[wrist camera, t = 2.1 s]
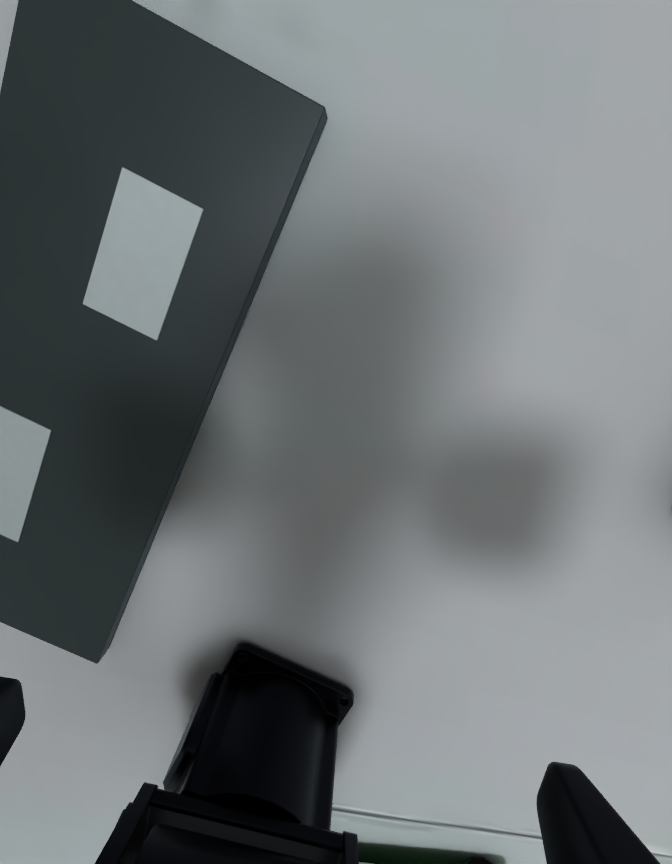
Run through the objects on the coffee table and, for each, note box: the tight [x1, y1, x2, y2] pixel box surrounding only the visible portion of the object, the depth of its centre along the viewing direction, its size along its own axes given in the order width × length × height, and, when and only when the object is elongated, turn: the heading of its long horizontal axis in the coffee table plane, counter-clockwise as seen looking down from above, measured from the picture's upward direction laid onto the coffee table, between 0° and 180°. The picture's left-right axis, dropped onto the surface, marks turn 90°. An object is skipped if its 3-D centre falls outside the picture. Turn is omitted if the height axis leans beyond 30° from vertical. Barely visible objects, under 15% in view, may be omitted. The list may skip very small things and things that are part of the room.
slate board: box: [0, 0, 327, 664], centre depth 19 cm, size 10×26×1 cm, turn 154°
